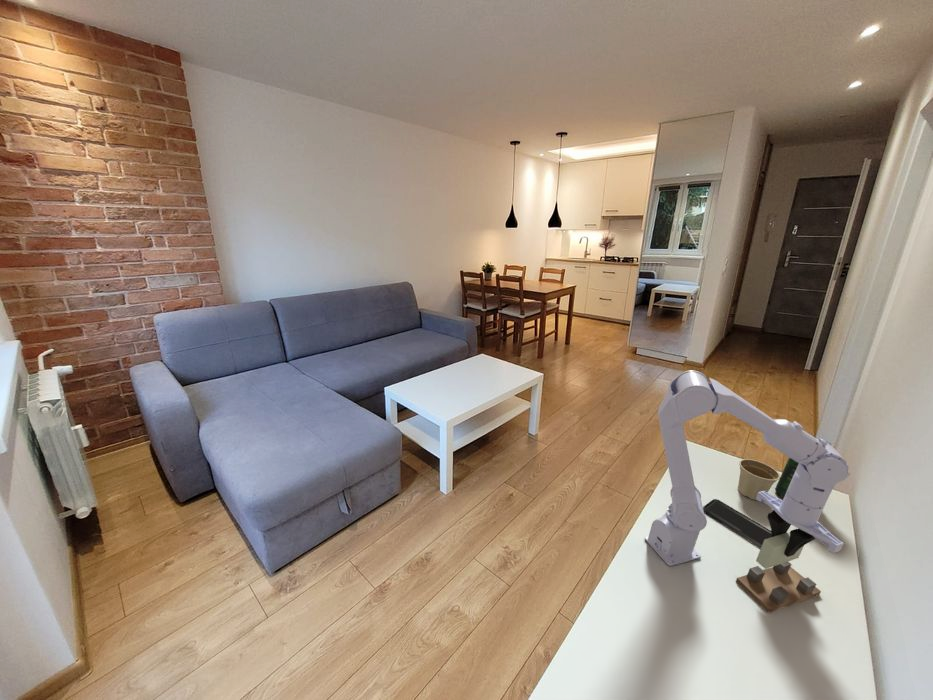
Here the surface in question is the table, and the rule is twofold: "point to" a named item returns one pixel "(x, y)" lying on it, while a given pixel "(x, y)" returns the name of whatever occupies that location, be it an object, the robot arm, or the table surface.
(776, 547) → the door panel
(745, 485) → the flower pot
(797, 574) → the rail
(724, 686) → the table surface
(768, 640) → the table surface
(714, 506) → the phone
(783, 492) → the coffee jar
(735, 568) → the table surface
